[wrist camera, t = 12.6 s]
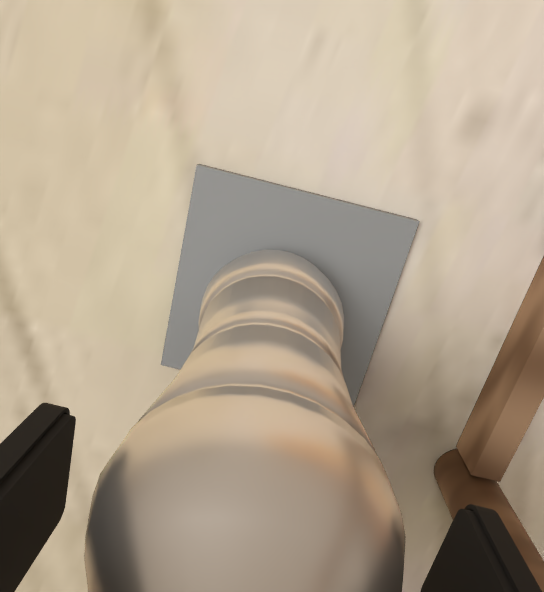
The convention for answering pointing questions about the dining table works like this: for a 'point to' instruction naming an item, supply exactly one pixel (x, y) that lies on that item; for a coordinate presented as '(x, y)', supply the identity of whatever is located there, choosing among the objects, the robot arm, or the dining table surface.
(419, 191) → the dining table surface
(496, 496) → the brown piece
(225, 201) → the mat
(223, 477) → the silver metal bottle
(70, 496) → the dining table surface
